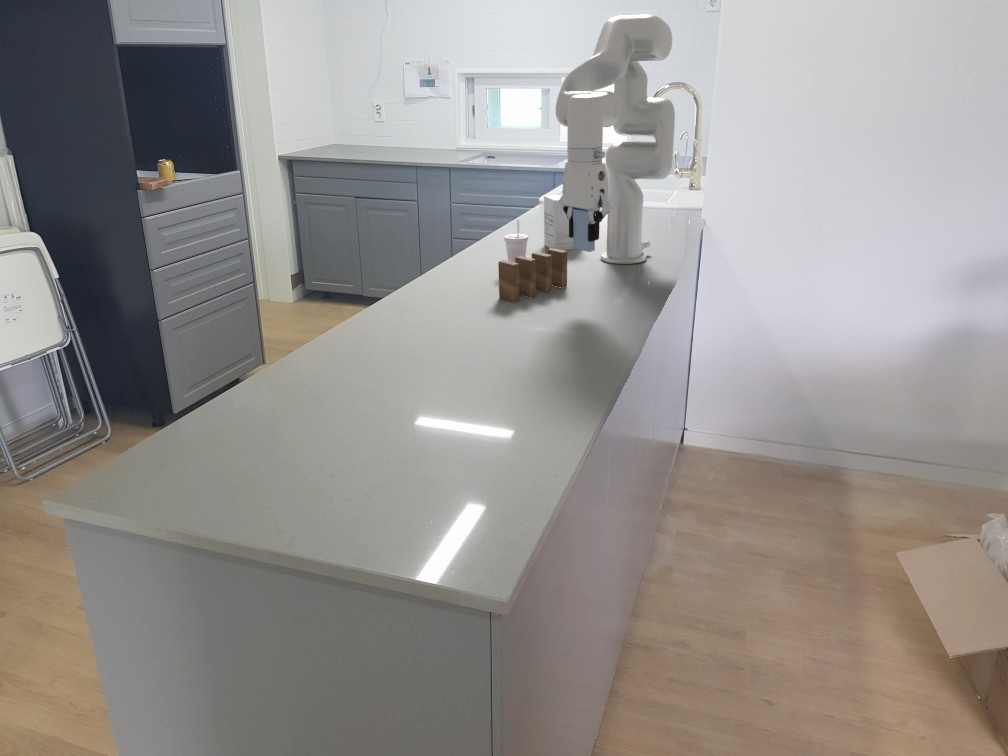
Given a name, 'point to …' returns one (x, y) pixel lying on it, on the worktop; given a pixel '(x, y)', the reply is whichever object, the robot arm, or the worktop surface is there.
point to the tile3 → (543, 271)
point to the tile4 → (527, 276)
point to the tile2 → (558, 267)
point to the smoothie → (516, 244)
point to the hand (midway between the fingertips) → (583, 237)
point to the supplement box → (556, 225)
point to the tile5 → (508, 281)
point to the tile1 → (581, 230)
